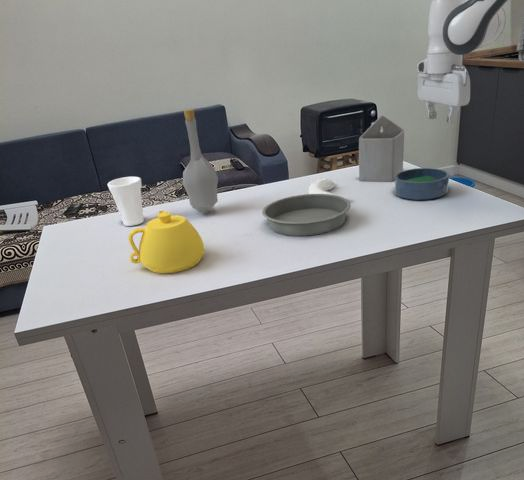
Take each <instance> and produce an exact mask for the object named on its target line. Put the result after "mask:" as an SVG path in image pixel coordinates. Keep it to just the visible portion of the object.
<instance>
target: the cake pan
mask: <svg viewBox="0 0 524 480" xmlns="http://www.w3.org/2000/svg"><path fill="white" fill-rule="evenodd" d="M345 198H346V197H343V196H340V195H336V194H334V195H330V194H308V193H305V194H297V195H292V196H291V195H290V196H287V197H284V198H279V199H277V200H274V201H271V202H269V204H267V205H266V206H265V207H264V208H263V209H262V212H261V214H262V216H263V218H265V219H266V220H267V222H268V226H269V229H271V230H272V231H273V232H275V233H277V234H281V235H284V236H292V237H306V236H316V235H322V234H325V233H328V232H332V231H334V230H337V229H338V228H340V227H341V226H343V225H344V224H345V221H346V216H347V212H348V211H350V209H351V202H350V200H349V199H347V198H346V199H345Z"/></svg>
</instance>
